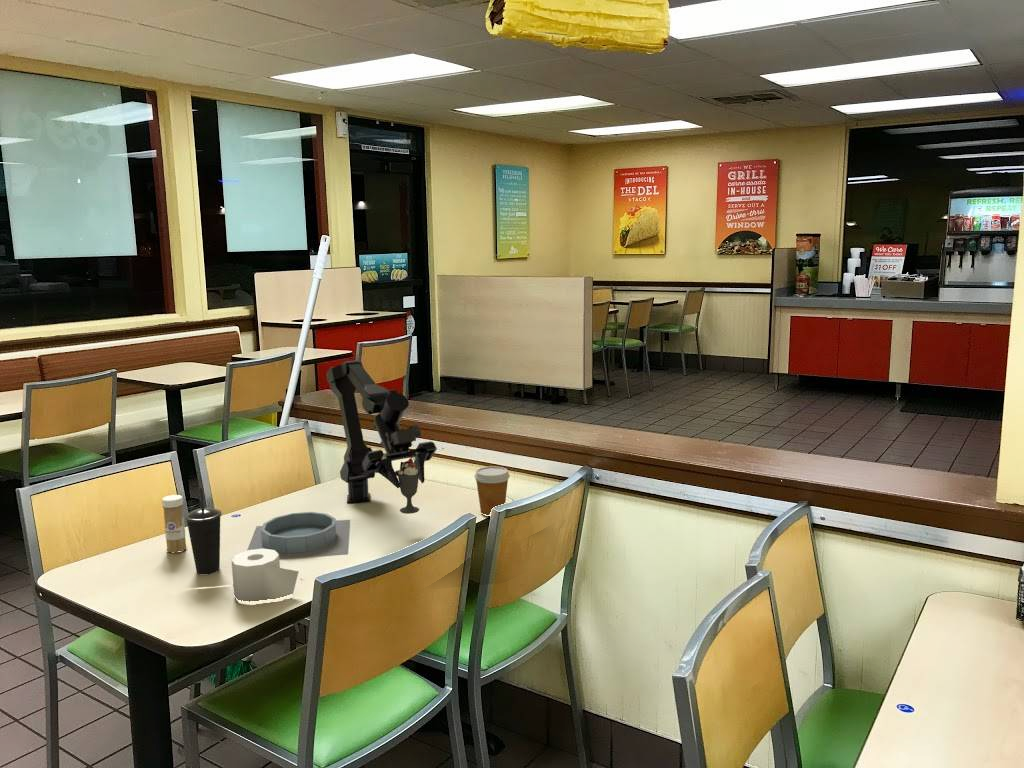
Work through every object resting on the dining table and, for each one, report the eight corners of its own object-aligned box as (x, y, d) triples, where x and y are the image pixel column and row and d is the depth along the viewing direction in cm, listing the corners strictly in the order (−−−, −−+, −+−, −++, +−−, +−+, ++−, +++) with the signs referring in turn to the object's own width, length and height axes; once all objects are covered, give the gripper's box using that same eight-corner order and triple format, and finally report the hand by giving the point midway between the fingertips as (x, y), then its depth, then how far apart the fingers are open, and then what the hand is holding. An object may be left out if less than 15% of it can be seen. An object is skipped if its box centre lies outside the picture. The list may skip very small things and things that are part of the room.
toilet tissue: (300, 599, 166) (297, 560, 165) (233, 607, 163) (229, 568, 161) (299, 581, 175) (297, 544, 173) (235, 589, 171) (232, 551, 170)
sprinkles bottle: (165, 555, 191) (160, 501, 188) (167, 548, 195) (162, 495, 193) (186, 552, 192) (181, 499, 190) (188, 545, 196) (183, 493, 194)
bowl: (267, 529, 205) (266, 514, 205) (337, 524, 208) (336, 510, 208) (258, 555, 188) (257, 539, 188) (334, 550, 191) (333, 534, 191)
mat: (256, 527, 208) (256, 526, 208) (350, 521, 212) (350, 519, 212) (242, 564, 185) (242, 562, 185) (348, 555, 189) (347, 554, 189)
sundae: (420, 515, 198) (418, 456, 195) (393, 514, 198) (391, 456, 196) (425, 506, 204) (423, 449, 202) (399, 505, 205) (397, 449, 202)
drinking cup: (217, 562, 186) (210, 479, 182) (232, 571, 181) (225, 486, 177) (184, 572, 181) (176, 487, 177) (198, 581, 175) (191, 494, 172)
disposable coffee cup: (517, 512, 217) (516, 470, 215) (492, 522, 210) (492, 478, 208) (492, 505, 223) (491, 463, 221) (467, 514, 216) (466, 471, 214)
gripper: (364, 420, 195) (386, 475, 188) (432, 410, 205) (454, 462, 198) (353, 444, 203) (373, 497, 196) (419, 434, 213) (440, 484, 206)
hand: (411, 484), depth 199 cm, fingers closed on sundae, 6 cm apart
